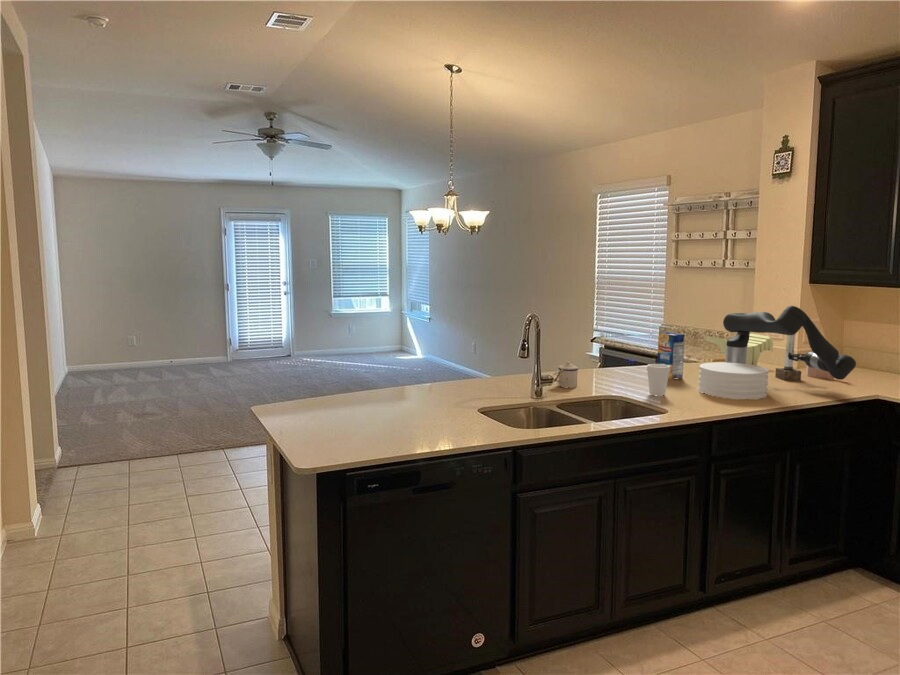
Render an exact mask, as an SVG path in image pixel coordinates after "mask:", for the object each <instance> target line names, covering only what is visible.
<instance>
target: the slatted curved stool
mask: <svg viewBox="0 0 900 675" xmlns="http://www.w3.org/2000/svg"><path fill="white" fill-rule="evenodd" d="M727 340H728V339H725V338H723V337H722V338H721V337H717V336H710V335H705V341H706V342H709V343H712V344H713V345H717V346H718V347H719V350H720V353H722V354H726V346H727ZM773 347H774V341H773V339H772V337H770V336H768V335H762V334H757V333H750V335H749V341H748V345H747V361H746V364H749V365H755V366H758V361H759V358H760V356H761V355H760V354H762V353H763V352H765V351H771V352H773V349H774V348H773Z"/></svg>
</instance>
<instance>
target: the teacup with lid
mask: <svg viewBox="0 0 900 675" xmlns="http://www.w3.org/2000/svg"><path fill="white" fill-rule="evenodd" d="M557 368H558V371H556V372H555V373H554V374H553V376H554V375H556V374H557V373H558V372H559V370H561V369H564V371H563V372H562V374H561V375H560V376H559V378H558V377H557V378H558V379H557V380H556V381H555V382H557V383H558V384H557V385H558V387H559V386H561V387H560V388H562V387H575V388H577V387H578V371H579V367H577V366H576V365H574V364H573V363H571V361H566V362H565V363H563V364H561V365H559V366H558V367H557ZM558 374H559V373H558ZM558 374H557V375H558ZM557 375H556V376H557Z"/></svg>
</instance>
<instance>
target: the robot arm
mask: <svg viewBox="0 0 900 675" xmlns="http://www.w3.org/2000/svg"><path fill="white" fill-rule="evenodd" d="M723 328H724V329H725V330H726V331H727V332H729V333H736V335H735V336H733V337H731V338H729V339H726V340H727V346H726V353H725V361H724V363H741V364H746V361H747V345H748V341H749V335H750V334H751V333H755V334H757V333H759V334H760V333H761V334H763V333H764V334H765V333H768V334H778V335H784V336H785V335H786V336H787V335H794V334H795V335H796V334H797V333H799V331H800V329H802V328H803V330H804V331H805V333H806V336H807V340H808V344H809V347H810V349H811V351H809V352H806V353H795V352H794V353H788V357H789V359H790V360H793V362H803V363H805V365H806V366H807V365H808V366H809V367H812V368H815V369H819V370H824V371H828V372H829V373H830V374H831V375H832V376H833V377H834V379H836V380H840V381H841V380H842V381H843V380H844V379H845V378H847V376H849V375H850V373H851V372H852V371H853V370H854V369H855V368H856V366H857V362H856V360H855V359H854V357H853V356H850V355H847V354H840V353H839V351H838V349H837V348H836V347H835V346H833V345H832V344H831V343H830V341H828V340H827V339H826V338H825V336H823V334H822V333H821V332H820V330H819V328H818V327H817V326H816V325H815V323H814V322H813V321H812V319H811V318H810V317H809V315H807V313H806V312H805V311H803V309H801V308H800V307H798V306H795V305H788V306H786V308H785V309H783V311H782V312H781V313H780V314H779V316H778V317H777V318H775V316H774V315H773V314H771V313H770V312H766V311H758V312H750V313H747V312H732V313H728V314H726V316H724V319H723Z"/></svg>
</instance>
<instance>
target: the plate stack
mask: <svg viewBox="0 0 900 675" xmlns="http://www.w3.org/2000/svg"><path fill="white" fill-rule="evenodd" d="M769 372H770V370H769V369H768V368H766V367H763V366H760V365H757V366H755V365H749V364H741V363H725V361H724V362H723V361H721V362H720V361H719V362H705V363H701V364H699V370H698V374H699V376H698V388H697V389H698V390H699V391H701V392H703V393H706V394H709V395H713V396H718V397H717V398H719V397H723V398H722V399H726V398H731V399H730V400H738V399H755V400H761V398H762V399H765V398H767V397H766V396H768V385H769V382H768V379H769V375H768V374H769ZM699 391H698V392H699ZM703 393H702V394H703ZM709 395H708V396H709ZM713 396H712V397H713ZM764 397H765V398H764Z"/></svg>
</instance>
